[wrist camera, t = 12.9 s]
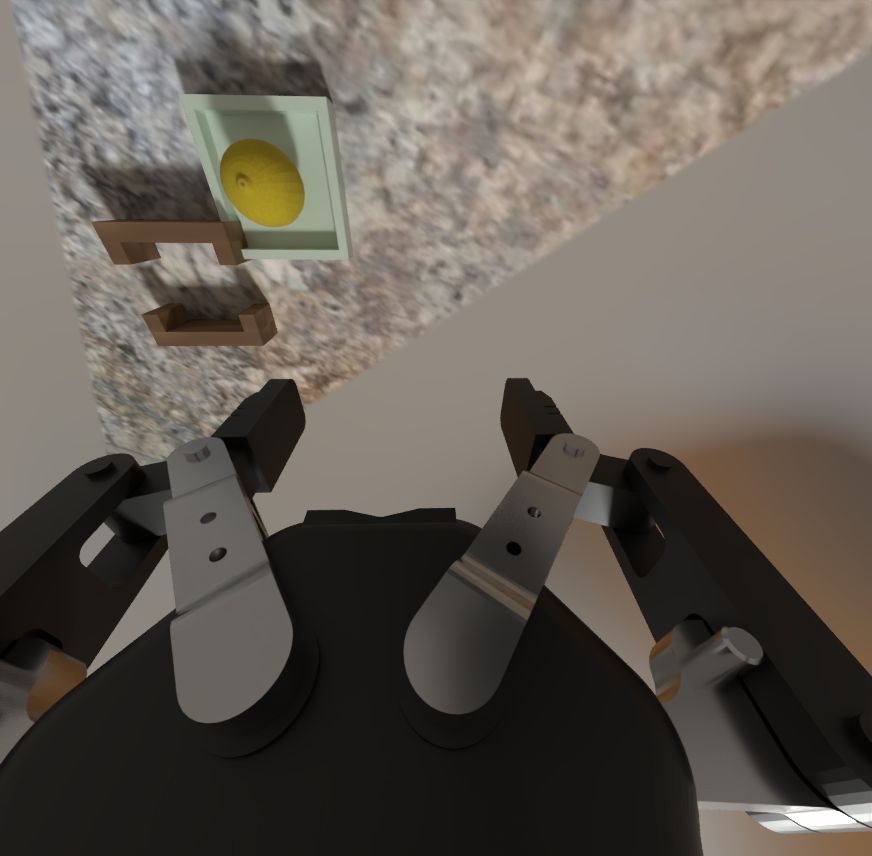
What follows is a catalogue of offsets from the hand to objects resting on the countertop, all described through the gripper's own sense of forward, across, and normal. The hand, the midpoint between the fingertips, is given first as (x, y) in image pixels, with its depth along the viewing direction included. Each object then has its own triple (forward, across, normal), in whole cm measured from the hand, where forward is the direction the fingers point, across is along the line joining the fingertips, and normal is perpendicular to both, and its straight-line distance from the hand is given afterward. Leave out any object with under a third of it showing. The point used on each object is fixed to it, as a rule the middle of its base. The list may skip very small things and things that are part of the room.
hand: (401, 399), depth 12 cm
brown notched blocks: (+26, +22, +1) cm, 34 cm away
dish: (+26, +12, -7) cm, 30 cm away
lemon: (+26, +12, -7) cm, 29 cm away
